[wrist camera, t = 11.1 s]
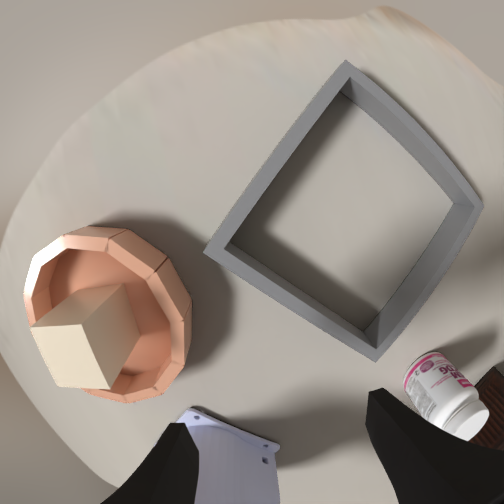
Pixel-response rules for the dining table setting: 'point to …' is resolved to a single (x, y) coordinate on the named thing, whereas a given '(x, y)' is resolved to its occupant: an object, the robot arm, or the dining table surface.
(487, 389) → the manual coffee grinder
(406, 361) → the dining table surface
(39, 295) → the bowl
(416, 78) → the dining table surface
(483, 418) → the pill bottle
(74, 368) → the sandstone block
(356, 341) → the tray
